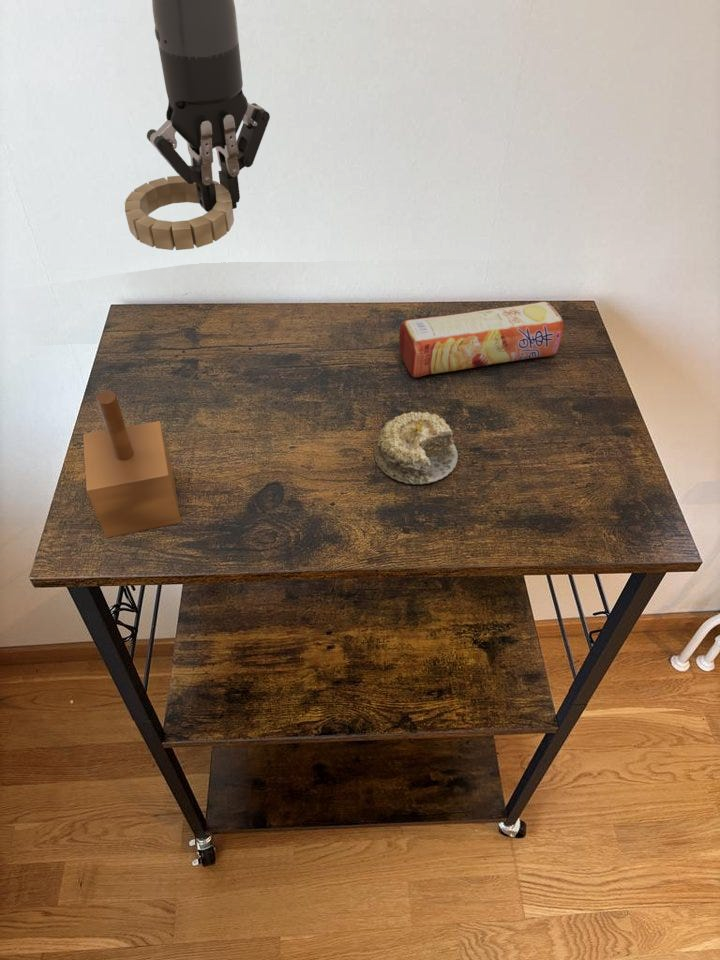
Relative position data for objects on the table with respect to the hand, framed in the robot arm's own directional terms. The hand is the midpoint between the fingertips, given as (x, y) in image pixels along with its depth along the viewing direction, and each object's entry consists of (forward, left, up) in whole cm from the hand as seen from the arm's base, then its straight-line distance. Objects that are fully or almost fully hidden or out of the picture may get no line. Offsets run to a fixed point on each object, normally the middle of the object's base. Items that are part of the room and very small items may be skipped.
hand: (220, 208), depth 82 cm
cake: (+17, -23, -21) cm, 36 cm away
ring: (-5, -2, 0) cm, 5 cm away
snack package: (+31, -8, -21) cm, 39 cm away
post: (-15, -22, -21) cm, 34 cm away
